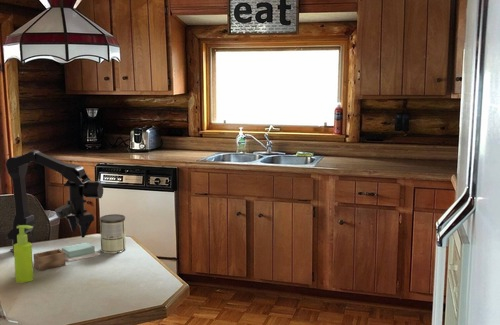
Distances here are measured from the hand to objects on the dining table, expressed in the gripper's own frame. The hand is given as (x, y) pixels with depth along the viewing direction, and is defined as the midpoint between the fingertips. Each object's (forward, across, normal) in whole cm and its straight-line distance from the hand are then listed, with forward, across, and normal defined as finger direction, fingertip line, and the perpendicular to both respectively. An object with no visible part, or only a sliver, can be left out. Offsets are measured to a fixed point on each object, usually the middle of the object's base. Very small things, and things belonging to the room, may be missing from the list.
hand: (78, 234), depth 225 cm
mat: (+8, 0, 0) cm, 8 cm away
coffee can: (+9, +3, +14) cm, 16 cm away
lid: (+7, 0, 0) cm, 7 cm away
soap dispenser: (+9, +15, -26) cm, 31 cm away
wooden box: (+8, +6, -14) cm, 17 cm away
